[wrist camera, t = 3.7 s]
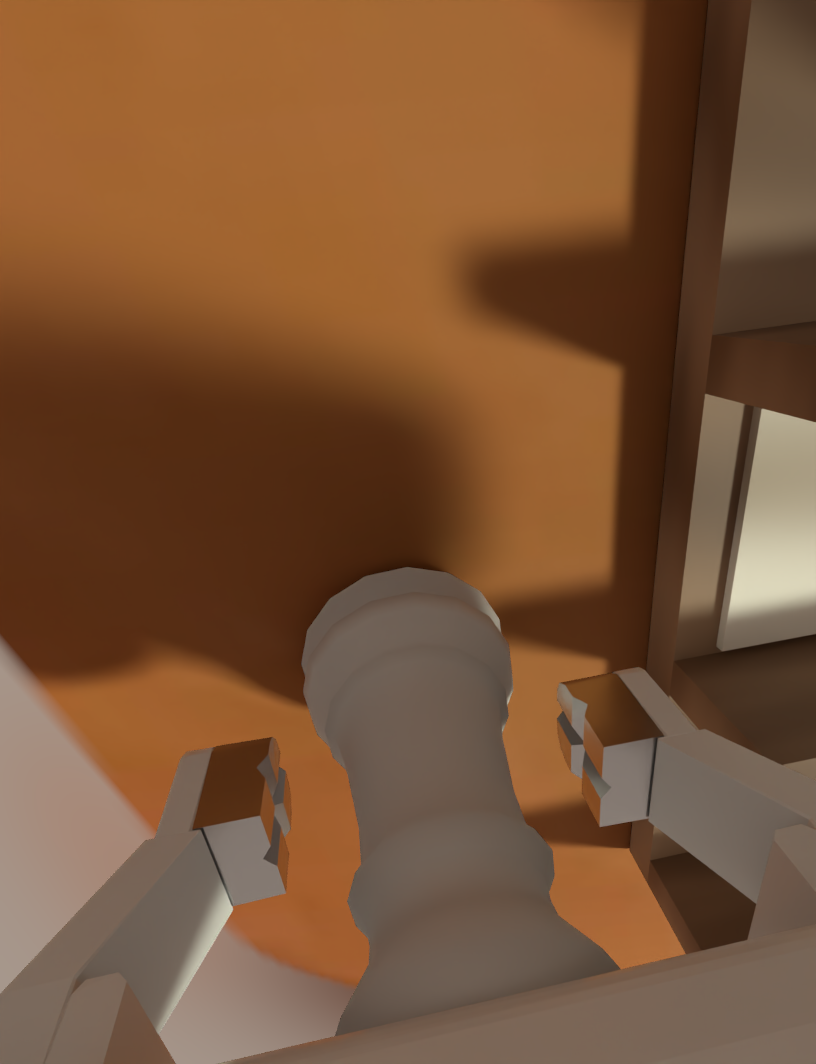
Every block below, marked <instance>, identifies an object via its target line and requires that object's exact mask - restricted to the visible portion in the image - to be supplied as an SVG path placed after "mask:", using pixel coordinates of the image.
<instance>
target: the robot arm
mask: <svg viewBox="0 0 816 1064" xmlns="http://www.w3.org/2000/svg"><path fill="white" fill-rule="evenodd" d="M557 701H558V702H559V704H560V706H561V708H562V710H563V712H562V713H561V714H560V716H559V717H558V718H557V731H558V738H559V742H560V747H561V750H562V753H563V756H564V758H565V761H566V763H567V765H568V767H569V769H570V771H571V772H572V773H573V774H575V775H577V776H578V777H580V778H581V779H582V794H583V796H584V798H585V800H586V802H587V804H588V806H589V808H590V810H591V812H592V814H593V816H594V818H595V819H596V821H597V823H598V825H599V827H603V826H609V825H614V824H620V823H625V822H631V821H636V820H642V819H648V818H649V820H648V821H649V822H650V823H652V824H653V825H654V826H655V827H657V828H658V829H659V830H661V831H662V832H663V833H665V834H666V835H667V836H668V837H670V838H671V839H672V840H674V841H675V842H676V843H678V844H679V845H680V846H682V847H683V848H684V849H685V850H687V851H688V852H689V853H691V854H692V855H693V856H695V857H696V858H697V859H698V860H700V861H701V862H702V863H704V864H705V865H706V866H708V867H709V868H710V869H712V870H713V871H714V872H715V873H717V874H718V875H719V876H721V877H722V878H723V879H725V880H726V881H727V882H728V883H730V884H731V885H732V886H734V887H735V888H736V889H738V890H739V891H740V892H742V893H743V894H744V895H745V896H747V897H748V898H749V899H751V900H752V901H753V902H755V903H756V907H755V911H754V915H753V919H752V923H751V927H750V931H749V935H748V939H747V940H745V941H741V942H737V943H732V944H728V945H724V946H719V947H715V948H711V949H706V950H702V951H698V952H694V953H689V954H685V955H681V956H676V957H672V958H668V959H664V960H659V961H655V962H651V963H646V964H642V965H638V966H633V967H629V968H625V969H621V970H616V971H612V972H608V973H603V974H599V975H595V976H590V977H586V978H582V979H578V980H573V981H569V982H565V983H560V984H556V985H552V986H547V987H543V988H539V989H535V990H530V991H526V992H522V993H517V994H513V995H509V996H505V997H500V998H496V999H492V1000H488V1001H483V1002H479V1003H475V1004H471V1005H466V1006H462V1007H458V1008H453V1009H449V1010H445V1011H441V1012H436V1013H432V1014H428V1015H424V1016H419V1017H415V1018H411V1019H407V1020H402V1021H398V1022H394V1023H389V1024H385V1025H381V1026H377V1027H372V1028H368V1029H364V1030H360V1031H355V1032H351V1033H347V1034H342V1035H338V1036H334V1037H330V1038H325V1039H321V1040H317V1041H313V1042H308V1043H304V1044H300V1045H295V1046H291V1047H287V1048H283V1049H279V1050H274V1051H270V1052H265V1053H261V1054H257V1055H253V1056H248V1057H244V1058H240V1059H235V1060H231V1061H227V1062H223V1063H218V1064H816V781H815V780H812V779H810V778H808V777H806V776H804V775H802V774H800V773H798V772H795V771H793V770H791V769H789V768H787V767H785V766H783V765H781V764H778V763H776V762H774V761H772V760H770V759H768V758H766V757H764V756H761V755H759V754H757V753H755V752H753V751H751V750H749V749H747V748H744V747H742V746H740V745H738V744H736V743H734V742H732V741H730V740H727V739H725V738H723V737H721V736H719V735H717V734H715V733H713V732H710V731H708V730H706V729H702V730H696V729H695V728H694V727H693V725H692V724H691V723H690V722H689V721H688V720H687V718H686V717H685V716H684V715H683V714H682V713H681V712H680V710H679V709H678V708H677V707H676V706H675V705H674V703H673V702H672V701H671V700H670V699H669V698H668V696H667V695H666V694H665V693H664V692H663V691H662V689H661V688H660V687H659V686H658V685H657V684H656V683H655V681H654V680H653V679H652V678H651V677H650V676H649V674H648V673H647V672H646V671H645V670H644V669H642V668H640V667H635V668H630V669H625V670H620V671H616V672H612V673H607V674H602V675H597V676H592V677H587V678H582V679H576V680H571V681H566V682H561V683H559V686H558V689H557ZM279 761H280V750H279V747H278V744H277V741H276V739H275V738H273V737H269V738H263V739H257V740H251V741H245V742H239V743H233V744H226V745H220V746H216V747H213V748H206V749H200V750H194V751H187V752H186V753H185V754H184V755H183V756H182V758H181V759H180V762H179V765H178V768H177V771H176V774H175V777H174V780H173V783H172V786H171V789H170V793H169V796H168V799H167V802H166V805H165V808H164V811H163V814H162V817H161V820H160V824H159V827H158V830H157V833H156V836H155V838H154V839H150V840H145V841H144V842H143V843H142V844H141V845H140V847H139V848H138V849H137V850H136V851H135V852H134V853H133V854H132V855H131V856H130V857H129V858H128V859H127V860H126V861H125V862H124V864H123V865H122V866H121V867H120V868H119V869H118V870H117V871H116V872H115V873H114V874H113V875H112V876H111V877H110V878H109V879H108V880H107V882H106V883H105V884H104V885H103V886H102V887H101V888H100V889H99V890H98V891H97V892H96V893H95V894H94V895H93V896H92V897H91V898H90V900H89V901H88V902H87V903H86V904H85V905H84V906H83V907H82V908H81V909H80V910H79V911H78V912H77V913H76V914H75V916H74V917H73V918H72V919H71V920H70V921H69V922H68V923H67V924H66V925H65V926H64V927H63V928H62V929H61V930H60V931H59V932H58V933H57V934H56V935H55V937H54V938H53V939H52V940H51V941H50V942H49V943H48V944H47V945H46V946H45V947H44V948H43V949H42V951H40V952H39V954H38V955H37V956H36V957H35V958H34V959H33V960H32V961H31V962H30V963H29V964H28V965H27V966H26V967H25V968H24V969H23V970H22V971H21V973H20V974H19V975H18V976H17V977H16V978H15V979H14V980H13V981H12V982H11V983H10V984H9V985H8V986H7V987H6V988H5V989H4V991H3V992H2V993H1V994H0V1064H175V1062H174V1060H173V1059H172V1057H171V1055H170V1053H169V1052H168V1050H167V1048H166V1047H165V1045H164V1043H163V1041H162V1040H161V1038H160V1036H159V1033H160V1032H161V1030H162V1028H163V1026H164V1025H165V1023H166V1021H167V1020H168V1018H169V1016H170V1015H171V1013H172V1012H173V1010H174V1008H175V1007H176V1005H177V1003H178V1001H179V1000H180V998H181V996H182V995H183V993H184V991H185V990H186V988H187V986H188V985H189V983H190V981H191V980H192V978H193V976H194V975H195V973H196V971H197V970H198V968H199V966H200V964H201V963H202V961H203V960H204V958H205V956H206V954H207V953H208V951H209V949H210V948H211V946H212V944H213V943H214V941H215V939H216V938H217V936H218V934H219V933H220V931H221V929H222V928H223V926H224V924H225V923H226V921H227V919H228V918H229V916H230V914H231V913H232V911H233V908H232V906H235V905H239V904H244V903H248V902H252V901H256V900H260V899H264V898H268V897H272V896H277V895H281V894H285V893H286V888H287V874H288V861H289V851H288V848H287V845H286V841H285V838H284V837H285V836H286V834H287V833H288V832H289V830H290V829H291V816H292V809H291V793H290V787H289V781H288V778H287V774H286V771H285V770H283V769H281V768H280V767H279Z"/></svg>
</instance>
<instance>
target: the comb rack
mask: <svg viewBox="0 0 816 1064" xmlns="http://www.w3.org/2000/svg"><path fill="white" fill-rule="evenodd" d="M646 672H647V673H648V674H649V676H650V677H651V678H652V679H653V680H654V681H655V683H656V684H657V685H658V686H659V687H660V688H661V689H662V691H663V692H664V693H665V694H666V695H667V696H668V698H669V699H670V700H671V701H672V702H673V703H674V705H675V706H676V707H677V708H678V709H679V710H680V712H681V713H682V714H683V715H684V716H685V717H686V718H687V720H688V721H689V722H690V723H691V724H692V725H693V727H694V728H695V729H696V730H702V729H706V730H708V731H710V732H713V733H715V734H717V735H719V736H721V737H723V738H725V739H727V740H730V741H732V742H734V743H736V744H738V745H740V746H742V747H744V748H747V749H749V750H751V751H753V752H755V753H757V754H759V755H761V756H764V757H766V758H768V759H770V760H772V761H774V762H776V763H778V764H781V765H783V766H785V767H787V768H789V769H791V770H793V771H795V772H798V773H800V774H802V775H804V776H806V777H808V778H810V779H812V780H815V781H816V0H708V9H707V20H706V31H705V41H704V52H703V63H702V74H701V85H700V95H699V106H698V117H697V128H696V139H695V149H694V160H693V171H692V182H691V193H690V203H689V214H688V225H687V236H686V247H685V257H684V268H683V279H682V290H681V301H680V311H679V322H678V333H677V344H676V355H675V365H674V376H673V387H672V398H671V409H670V419H669V430H668V441H667V452H666V463H665V473H664V484H663V495H662V506H661V517H660V527H659V538H658V549H657V560H656V571H655V581H654V592H653V603H652V614H651V625H650V635H649V646H648V657H647V668H646ZM648 820H649V818H648V819H642V820H636V821H632V830H631V841H630V852H631V854H632V855H633V857H634V859H635V861H636V863H637V865H638V867H639V868H640V870H641V872H642V874H643V876H644V878H645V879H646V881H647V883H648V885H649V887H650V889H651V890H652V892H653V894H654V896H655V898H656V900H657V901H658V903H659V905H660V907H661V909H662V911H663V912H664V914H665V916H666V918H667V920H668V922H669V923H670V925H671V927H672V929H673V931H674V933H675V934H676V936H677V938H678V940H679V942H680V944H681V946H682V947H683V949H684V951H685V953H686V954H689V953H694V952H698V951H702V950H706V949H711V948H715V947H719V946H724V945H728V944H732V943H737V942H741V941H745V940H747V939H748V935H749V931H750V927H751V923H752V919H753V915H754V911H755V907H756V903H755V902H753V901H752V900H751V899H749V898H748V897H747V896H745V895H744V894H743V893H742V892H740V891H739V890H738V889H736V888H735V887H734V886H732V885H731V884H730V883H728V882H727V881H726V880H725V879H723V878H722V877H721V876H719V875H718V874H717V873H715V872H714V871H713V870H712V869H710V868H709V867H708V866H706V865H705V864H704V863H702V862H701V861H700V860H698V859H697V858H696V857H695V856H693V855H692V854H691V853H689V852H688V851H687V850H685V849H684V848H683V847H682V846H680V845H679V844H678V843H676V842H675V841H674V840H672V839H671V838H670V837H668V836H667V835H666V834H665V833H663V832H662V831H661V830H659V829H658V828H657V827H655V826H654V825H653V824H652V823H650V822H649V821H648Z"/></svg>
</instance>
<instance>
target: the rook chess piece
mask: <svg viewBox="0 0 816 1064" xmlns="http://www.w3.org/2000/svg"><path fill="white" fill-rule="evenodd" d="M301 665H302V668H303V671H304V674H305V682H304V688H303V693H304V696H305V699H306V703H307V706H308V709H309V712H310V715H311V718H312V721H313V724H314V727H315V729H316V732H317V735H318V736H319V737H320V738H321V739H322V740H323V741H324V742H325V743H326V744H327V745H328V746H329V747H330V749H331V753H332V756H333V758H334V759H335V760H336V761H337V762H338V763H339V764H340V765H341V766H342V767H343V768H345V769H346V771H347V774H348V778H349V783H350V788H351V793H352V797H353V802H354V807H355V812H356V816H357V821H358V826H359V836H360V853H361V866H360V867H359V868H358V870H357V871H356V872H355V875H354V879H353V883H352V886H351V890H350V894H349V897H348V901H347V902H348V905H349V907H350V910H351V913H352V916H353V919H354V921H355V924H356V926H357V927H358V928H359V929H360V930H361V932H362V933H363V934H364V935H365V936H366V937H367V938H368V940H369V945H370V952H369V965H368V967H367V969H366V971H365V972H364V974H363V976H362V978H361V980H360V982H359V984H358V986H357V988H356V989H355V991H354V993H353V995H352V997H351V999H350V1001H349V1003H348V1005H347V1006H346V1008H345V1010H344V1012H343V1014H342V1016H341V1018H340V1022H339V1025H338V1028H337V1032H336V1035H335V1036H338V1035H342V1034H347V1033H351V1032H355V1031H360V1030H364V1029H368V1028H372V1027H377V1026H381V1025H385V1024H389V1023H394V1022H398V1021H402V1020H407V1019H411V1018H415V1017H419V1016H424V1015H428V1014H432V1013H436V1012H441V1011H445V1010H449V1009H453V1008H458V1007H462V1006H466V1005H471V1004H475V1003H479V1002H483V1001H488V1000H492V999H496V998H500V997H505V996H509V995H513V994H517V993H522V992H526V991H530V990H535V989H539V988H543V987H547V986H552V985H556V984H560V983H565V982H569V981H573V980H578V979H582V978H586V977H590V976H595V975H599V974H603V973H608V972H612V971H616V970H621V969H620V968H619V967H618V965H617V964H616V963H615V962H614V961H613V960H612V959H611V958H610V956H609V955H608V954H607V953H606V952H605V951H604V950H603V949H602V948H601V947H600V946H598V945H597V944H596V943H594V942H593V941H592V940H590V939H589V938H588V937H586V936H585V935H584V934H582V933H581V932H580V931H578V930H577V929H576V928H574V927H573V926H572V925H570V924H569V923H568V922H566V921H565V920H564V919H562V918H561V917H560V916H558V914H557V912H556V910H555V908H554V906H553V904H552V902H551V900H550V895H549V891H550V888H551V885H552V882H553V879H554V864H553V852H552V849H551V848H550V847H549V846H548V844H547V843H546V842H545V841H544V840H543V838H542V837H541V836H540V835H539V834H538V832H537V831H536V830H535V829H534V828H532V827H530V826H529V825H527V824H526V822H525V820H524V817H523V814H522V812H521V809H520V806H519V804H518V801H517V798H516V796H515V793H514V790H513V785H512V781H511V776H510V771H509V766H508V762H507V757H506V752H505V748H504V743H503V738H502V732H503V730H504V727H505V724H506V722H507V719H508V716H509V715H508V707H507V705H508V702H509V700H510V697H511V694H512V692H513V679H512V669H511V660H510V651H509V644H508V642H507V641H506V640H505V638H504V637H503V635H502V634H501V628H500V619H499V618H498V616H497V615H496V614H495V612H494V611H493V609H492V608H491V606H490V605H489V603H488V602H487V600H486V599H485V597H484V596H483V594H482V593H481V591H479V590H477V589H475V588H474V587H472V586H470V585H469V584H467V583H465V582H463V581H462V580H460V579H458V578H457V577H455V576H453V575H451V574H450V573H447V572H440V571H433V570H426V569H419V568H411V567H405V568H400V569H396V570H391V571H386V572H382V573H377V574H373V575H368V576H365V577H363V578H361V579H360V580H358V581H357V582H355V583H354V584H352V585H350V586H349V587H347V588H346V589H344V590H343V591H341V592H339V593H338V594H336V595H335V596H333V597H331V598H330V599H329V600H328V602H327V603H326V605H325V606H324V607H323V609H322V610H321V611H320V613H319V614H318V616H317V617H316V618H315V620H314V621H313V623H312V624H311V625H310V627H309V628H308V630H307V635H306V640H305V646H304V651H303V657H302V663H301Z"/></svg>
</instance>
